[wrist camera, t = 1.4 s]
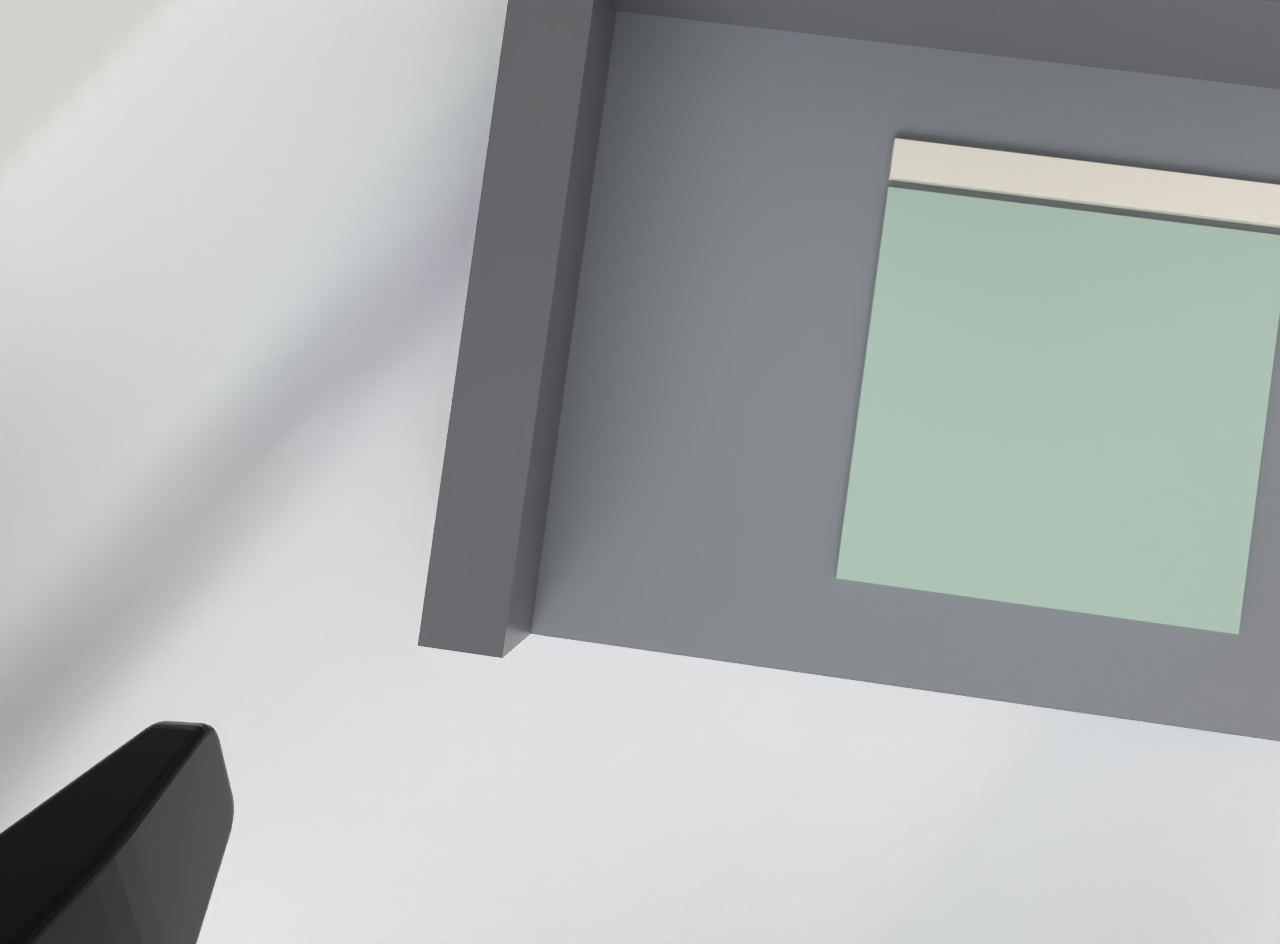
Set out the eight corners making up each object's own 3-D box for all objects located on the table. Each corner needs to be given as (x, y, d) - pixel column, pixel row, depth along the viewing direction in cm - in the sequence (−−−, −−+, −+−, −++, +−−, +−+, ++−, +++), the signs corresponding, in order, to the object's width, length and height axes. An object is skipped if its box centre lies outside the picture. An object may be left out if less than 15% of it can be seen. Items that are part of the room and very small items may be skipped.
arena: (1305, 740, 23) (1441, 793, 19) (464, 620, 24) (417, 645, 20) (1394, 42, 23) (1546, -56, 19) (558, -54, 24) (532, -168, 20)
